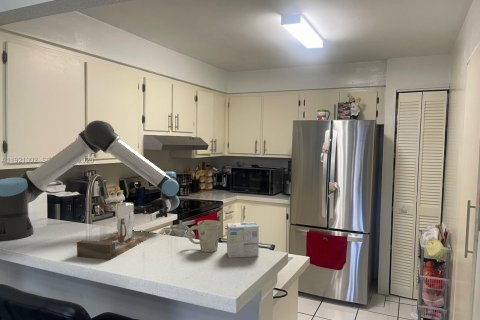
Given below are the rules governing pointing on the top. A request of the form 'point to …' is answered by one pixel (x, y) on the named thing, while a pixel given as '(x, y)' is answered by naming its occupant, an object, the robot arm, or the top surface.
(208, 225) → the mug
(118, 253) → the brown u-shaped block
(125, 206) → the metal tumbler
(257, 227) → the light bulb box
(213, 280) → the top surface
